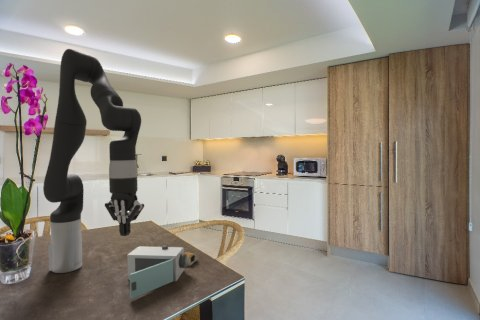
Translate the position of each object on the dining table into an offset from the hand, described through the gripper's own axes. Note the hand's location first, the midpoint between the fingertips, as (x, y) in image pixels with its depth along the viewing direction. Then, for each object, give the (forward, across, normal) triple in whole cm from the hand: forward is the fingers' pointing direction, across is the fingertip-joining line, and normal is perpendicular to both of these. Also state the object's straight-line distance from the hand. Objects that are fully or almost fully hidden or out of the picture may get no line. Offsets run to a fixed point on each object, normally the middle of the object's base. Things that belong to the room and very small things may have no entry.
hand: (125, 235), depth 83 cm
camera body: (+17, -1, -12) cm, 21 cm away
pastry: (+17, -4, -25) cm, 31 cm away
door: (+16, -8, -3) cm, 18 cm away
